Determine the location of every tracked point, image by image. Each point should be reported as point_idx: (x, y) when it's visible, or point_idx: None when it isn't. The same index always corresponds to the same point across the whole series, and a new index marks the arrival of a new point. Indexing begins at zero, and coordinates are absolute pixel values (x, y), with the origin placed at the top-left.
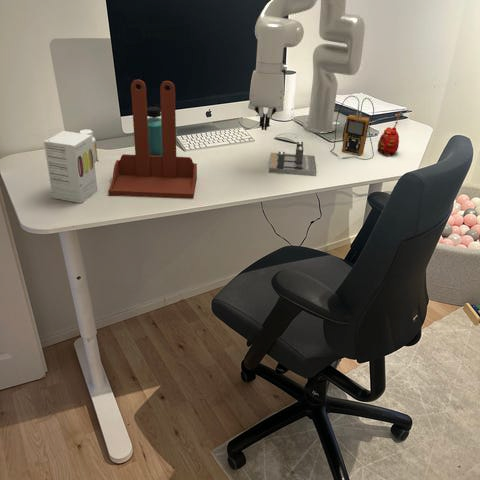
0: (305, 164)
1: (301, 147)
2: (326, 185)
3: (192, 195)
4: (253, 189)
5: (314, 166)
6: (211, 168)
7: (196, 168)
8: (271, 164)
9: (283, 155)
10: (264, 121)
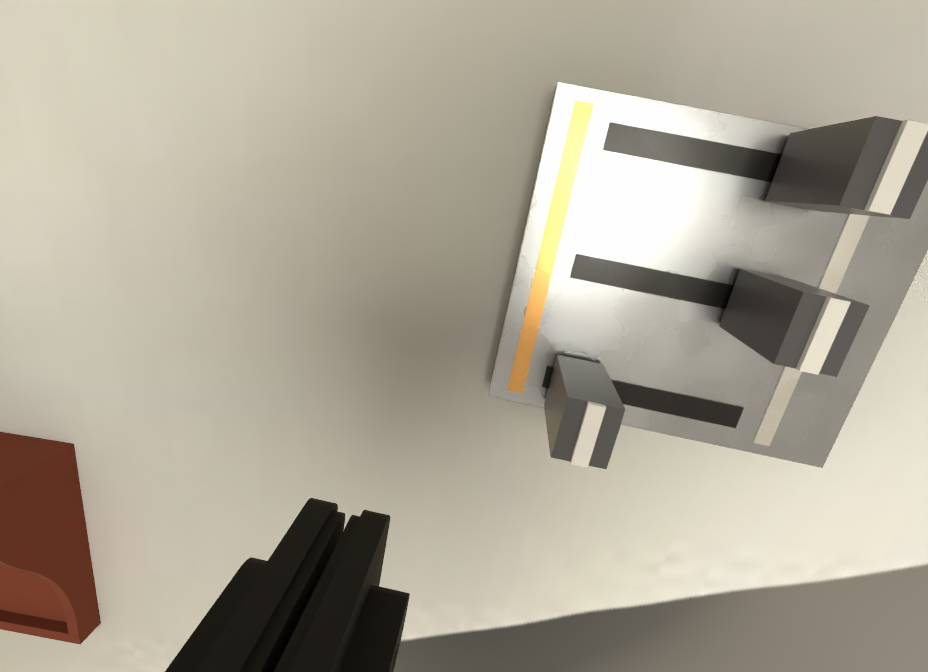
0: None
1: (847, 306)
2: (808, 569)
3: (83, 636)
4: None
5: (847, 387)
6: (126, 304)
7: (2, 510)
8: (514, 339)
9: (594, 463)
10: (308, 588)
